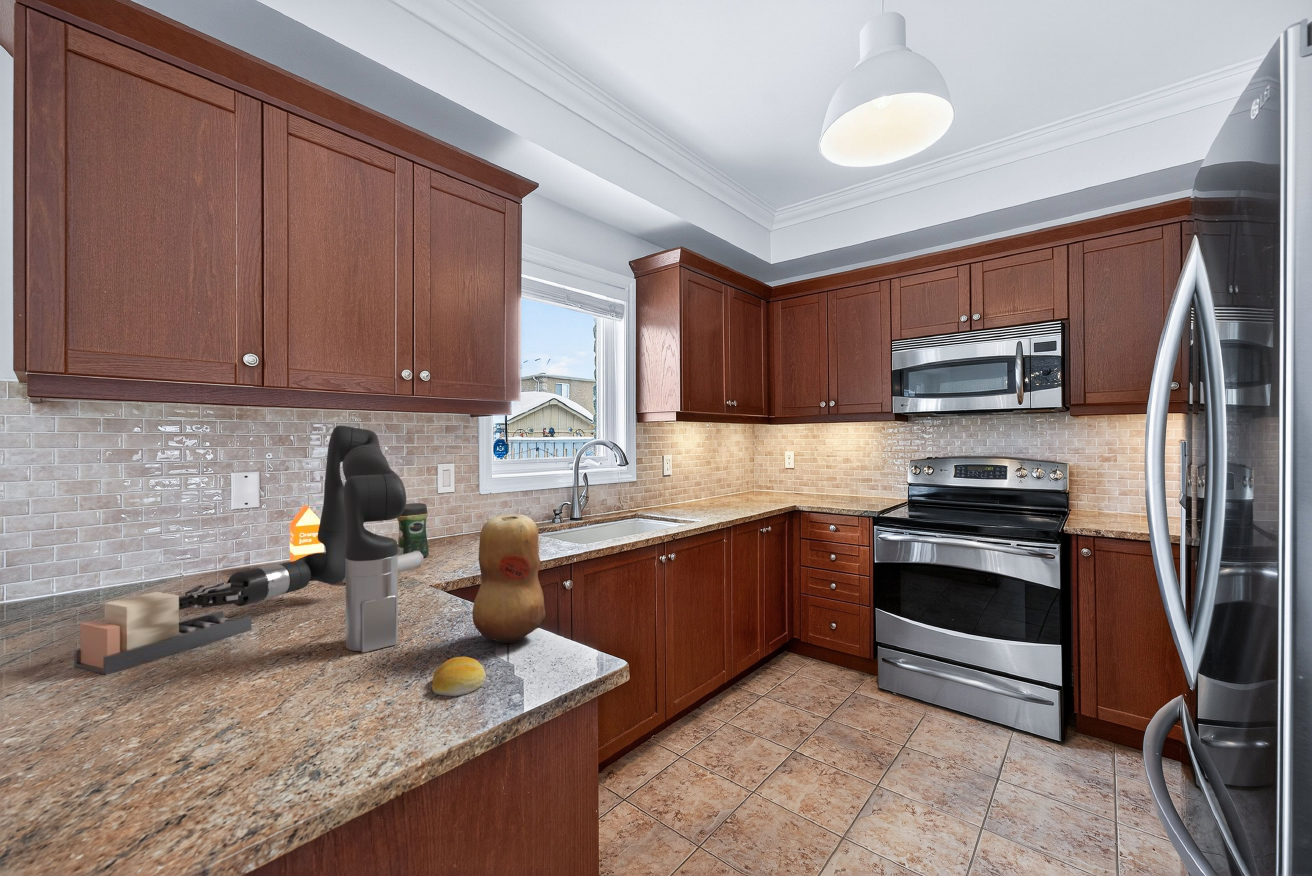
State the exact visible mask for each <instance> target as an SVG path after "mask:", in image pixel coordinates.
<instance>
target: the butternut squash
mask: <svg viewBox="0 0 1312 876" xmlns="http://www.w3.org/2000/svg"><path fill="white" fill-rule="evenodd" d="M539 548H540V547H539V528H538V525H537V524H536V522H534V520H533V519H532V518H531V517H529V516H527V515H525V514H519V513H517V514H516V513H515V514H510V513H509V514H507V513H506V514H502V515H498V516H495V517H492V518H489V520H487V521H486V522H485V523H484V525H482V527H481V530H480V535H479V544H478V565H479V570H480V586H479V588H478V591H477V594H476V596H475V598H474V602H473V606H472V623H473V625H474V627H475V629H476V630H477V632H479V634H480V635H481V636H482V637H483V638H486V639H489V640H493V641H496V642H499V643H501V644H512V643H517V642H520V641H521V640H522V639H524V638H525V637H527V636H528V635H529V634H531V633H532V632H534V631H536V630H537V629H539V628H540V625H541V623H542V622H543V620H544V619H545V618H546V611H545V600H544V599H545V598H544V597H545V596H544V592H543V589H542V586H541V584H540V580H539V576H538V574H539V571H540V570H541V565H542V562H541V559H540V555H539V554H540V553H539V552H540V550H539Z"/></svg>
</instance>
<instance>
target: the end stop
mask: <svg viewBox="0 0 1312 876" xmlns="http://www.w3.org/2000/svg"><path fill="white" fill-rule="evenodd" d="M80 648H81V663H84V664H88V665H92V666H95V667H99V668H103V657H105V656H108V655H112V654H115V653H119V652H120V626H116V625H111V624H107V623H105V622H101V621H97V620H90V621H86V622H82V623H80Z"/></svg>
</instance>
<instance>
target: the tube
mask: <svg viewBox="0 0 1312 876" xmlns="http://www.w3.org/2000/svg"><path fill="white" fill-rule="evenodd" d="M423 564H424V558H423V555H422V554H421V553H420V552H419V551H413V552H411V553H407V554H402V555H398V573H401V572H400V571H402V572H404V570H406V571H409V570H413V569H416V567H417V568H421V567H422V566H423ZM412 568H413V569H412ZM408 569H409V570H408ZM341 583H342V584H344V583H346V581H345V579H344V580H343V581H341Z"/></svg>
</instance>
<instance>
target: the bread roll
mask: <svg viewBox="0 0 1312 876" xmlns="http://www.w3.org/2000/svg"><path fill="white" fill-rule="evenodd" d="M486 673H487V672H486V671H485V669H484V666H483V665H482V663H480V662H479V661H478V660H477V659H475V658H472V657H468V656H456V657H452V658H449V659H448V660H446V661H444V662H443V663H441V664H440V665H439V666H438V667H437V668H436V670H434V673H433V677H432V685H431V688H432V692H433V693H434V694H436V695H439V696H445V697H457V696H459V697H460V696H463V695H466V694H470V693H472V692H474V691H476V690H478V689H479V688H480V687H482V686H483V685H484V683H485V681H486V678H487V674H486Z"/></svg>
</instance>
